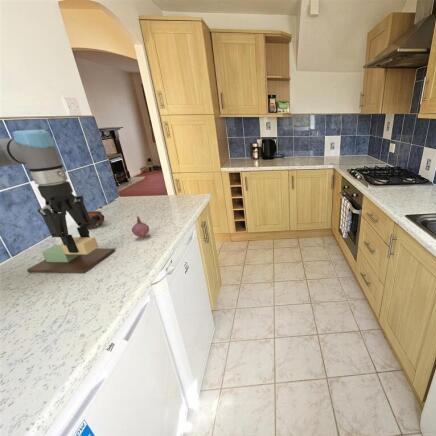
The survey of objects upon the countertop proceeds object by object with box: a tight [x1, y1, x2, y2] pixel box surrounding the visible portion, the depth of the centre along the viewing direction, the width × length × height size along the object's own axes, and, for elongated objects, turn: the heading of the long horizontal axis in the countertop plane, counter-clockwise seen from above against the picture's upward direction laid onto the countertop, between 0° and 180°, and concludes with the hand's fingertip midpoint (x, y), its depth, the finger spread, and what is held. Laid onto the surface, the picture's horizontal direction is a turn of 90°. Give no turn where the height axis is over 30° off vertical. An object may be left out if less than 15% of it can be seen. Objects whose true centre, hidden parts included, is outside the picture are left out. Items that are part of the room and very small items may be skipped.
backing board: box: [26, 247, 116, 274], centre depth 87 cm, size 20×14×1 cm
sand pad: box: [60, 236, 99, 254], centre depth 84 cm, size 8×5×4 cm, turn 87°
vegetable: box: [131, 215, 150, 238], centre depth 100 cm, size 6×6×10 cm
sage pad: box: [41, 244, 80, 262], centre depth 86 cm, size 8×5×4 cm, turn 87°
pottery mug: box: [87, 210, 105, 230], centre depth 115 cm, size 12×10×8 cm
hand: (81, 247), depth 84 cm, fingers closed on sand pad, 5 cm apart
